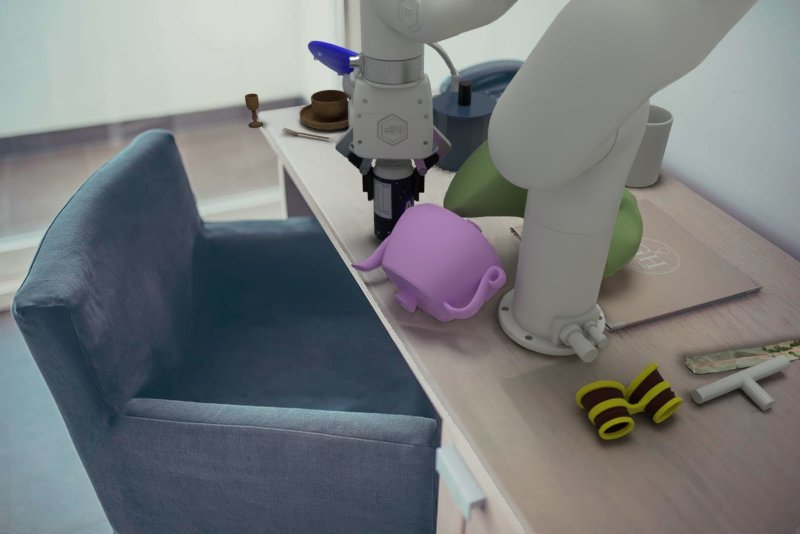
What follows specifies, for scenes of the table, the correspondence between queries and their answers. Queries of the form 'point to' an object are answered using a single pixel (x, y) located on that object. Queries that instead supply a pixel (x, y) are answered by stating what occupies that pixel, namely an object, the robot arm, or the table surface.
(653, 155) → the mug
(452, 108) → the pot lid
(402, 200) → the beverage can
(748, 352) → the bookmark
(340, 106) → the place setting
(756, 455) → the table surface
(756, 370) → the pipe joint
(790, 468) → the table surface
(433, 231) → the teapot
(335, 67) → the toy spaceship
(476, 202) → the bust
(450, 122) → the pot
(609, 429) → the opera glasses
